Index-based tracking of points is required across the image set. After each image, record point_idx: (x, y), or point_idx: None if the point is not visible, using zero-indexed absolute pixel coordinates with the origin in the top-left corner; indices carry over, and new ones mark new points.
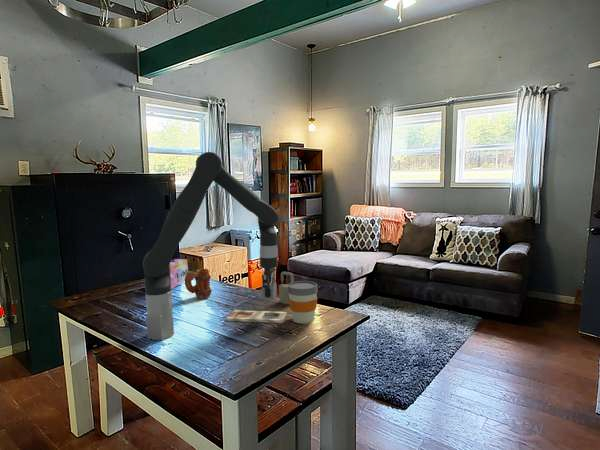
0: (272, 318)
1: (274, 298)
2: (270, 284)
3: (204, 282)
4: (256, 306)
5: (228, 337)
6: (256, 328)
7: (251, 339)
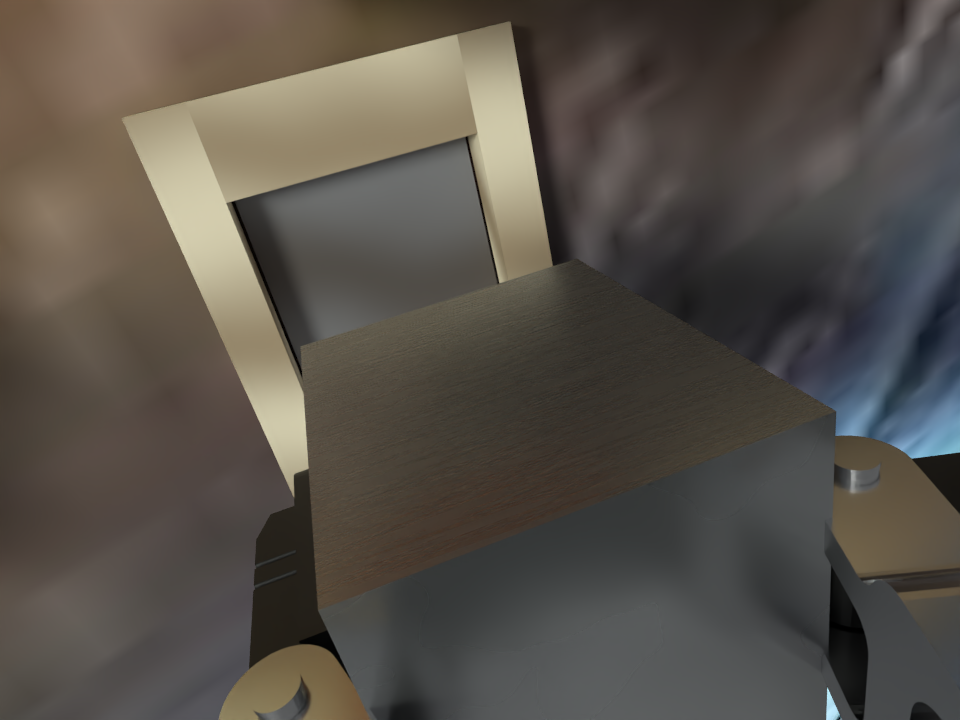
0: (392, 248)
1: (508, 282)
2: (866, 543)
3: None
4: (79, 673)
5: (907, 367)
6: (710, 259)
7: (946, 153)
